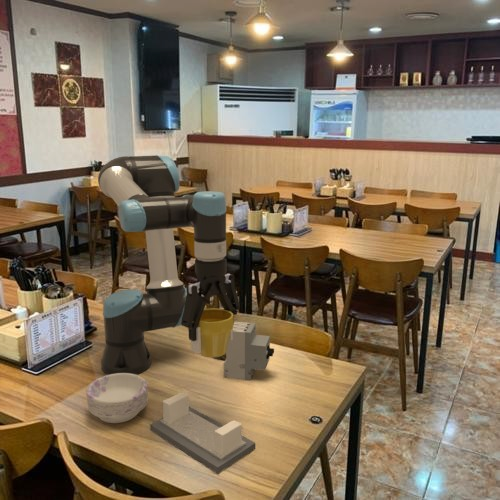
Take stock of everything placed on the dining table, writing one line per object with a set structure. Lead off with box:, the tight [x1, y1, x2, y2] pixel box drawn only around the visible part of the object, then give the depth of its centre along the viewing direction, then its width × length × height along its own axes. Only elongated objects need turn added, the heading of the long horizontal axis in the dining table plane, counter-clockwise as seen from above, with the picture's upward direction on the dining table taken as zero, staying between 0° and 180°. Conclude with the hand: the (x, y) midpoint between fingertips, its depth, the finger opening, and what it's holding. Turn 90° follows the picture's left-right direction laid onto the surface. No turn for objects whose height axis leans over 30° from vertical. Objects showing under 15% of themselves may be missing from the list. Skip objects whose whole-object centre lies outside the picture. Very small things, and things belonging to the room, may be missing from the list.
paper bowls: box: [86, 373, 149, 424], centre depth 132 cm, size 15×15×8 cm
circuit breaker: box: [222, 321, 275, 381], centre depth 152 cm, size 8×14×15 cm, turn 78°
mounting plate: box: [149, 406, 256, 474], centre depth 122 cm, size 24×12×2 cm, turn 47°
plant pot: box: [193, 307, 235, 359], centre depth 125 cm, size 10×10×10 cm
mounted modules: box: [162, 392, 243, 455], centre depth 121 cm, size 21×6×5 cm, turn 47°
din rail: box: [158, 411, 246, 461], centre depth 122 cm, size 22×8×1 cm, turn 47°
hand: (212, 345), depth 126 cm, fingers closed on plant pot, 10 cm apart
